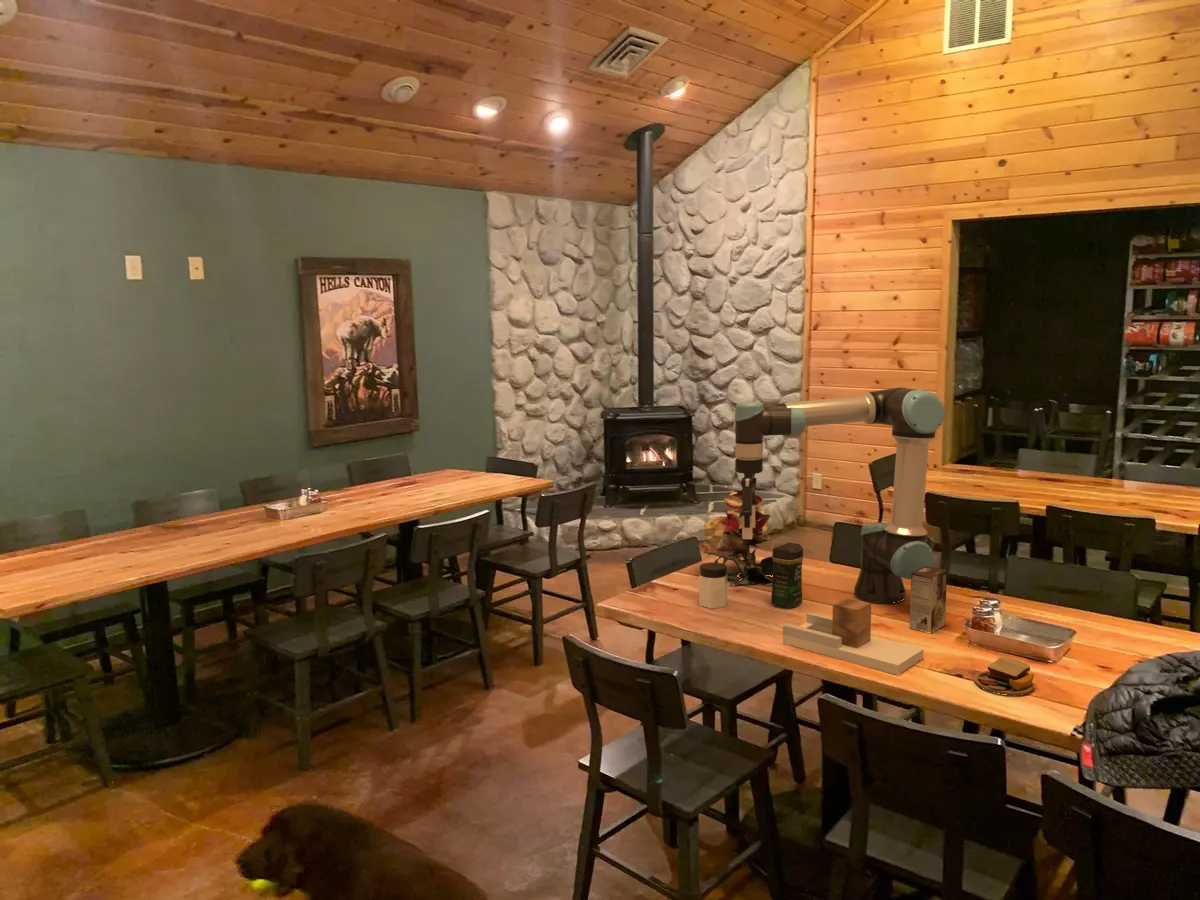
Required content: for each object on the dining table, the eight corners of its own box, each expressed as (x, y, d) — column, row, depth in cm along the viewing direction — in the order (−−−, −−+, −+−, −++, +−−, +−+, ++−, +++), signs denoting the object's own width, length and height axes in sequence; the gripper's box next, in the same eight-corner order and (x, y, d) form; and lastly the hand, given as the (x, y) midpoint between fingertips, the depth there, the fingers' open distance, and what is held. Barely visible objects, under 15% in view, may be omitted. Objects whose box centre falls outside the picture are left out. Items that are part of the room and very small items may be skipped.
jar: (703, 610, 257) (703, 570, 256) (694, 601, 265) (694, 563, 264) (732, 607, 259) (732, 568, 258) (722, 599, 267) (722, 561, 266)
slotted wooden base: (923, 658, 217) (923, 639, 216) (898, 675, 207) (898, 655, 206) (810, 629, 239) (810, 612, 238) (782, 643, 229) (782, 625, 228)
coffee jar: (791, 610, 255) (791, 549, 252) (767, 605, 260) (767, 545, 257) (806, 602, 262) (807, 543, 260) (783, 597, 267) (784, 539, 265)
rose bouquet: (766, 563, 306) (766, 480, 302) (789, 587, 277) (790, 496, 273) (694, 566, 305) (694, 482, 301) (710, 590, 276) (710, 498, 272)
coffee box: (923, 620, 244) (925, 565, 242) (946, 625, 240) (948, 569, 238) (908, 628, 238) (910, 572, 236) (931, 634, 234) (933, 576, 231)
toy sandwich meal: (961, 682, 203) (962, 663, 202) (999, 670, 209) (1000, 652, 208) (1009, 702, 192) (1010, 682, 191) (1047, 689, 198) (1049, 669, 198)
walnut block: (870, 640, 223) (871, 603, 221) (857, 648, 218) (858, 610, 216) (845, 634, 228) (846, 598, 226) (832, 641, 223) (832, 604, 221)
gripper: (738, 451, 252) (738, 522, 255) (731, 464, 228) (731, 543, 231) (764, 451, 250) (764, 523, 253) (760, 465, 226) (760, 544, 229)
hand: (748, 533), depth 242 cm, fingers open, 13 cm apart
